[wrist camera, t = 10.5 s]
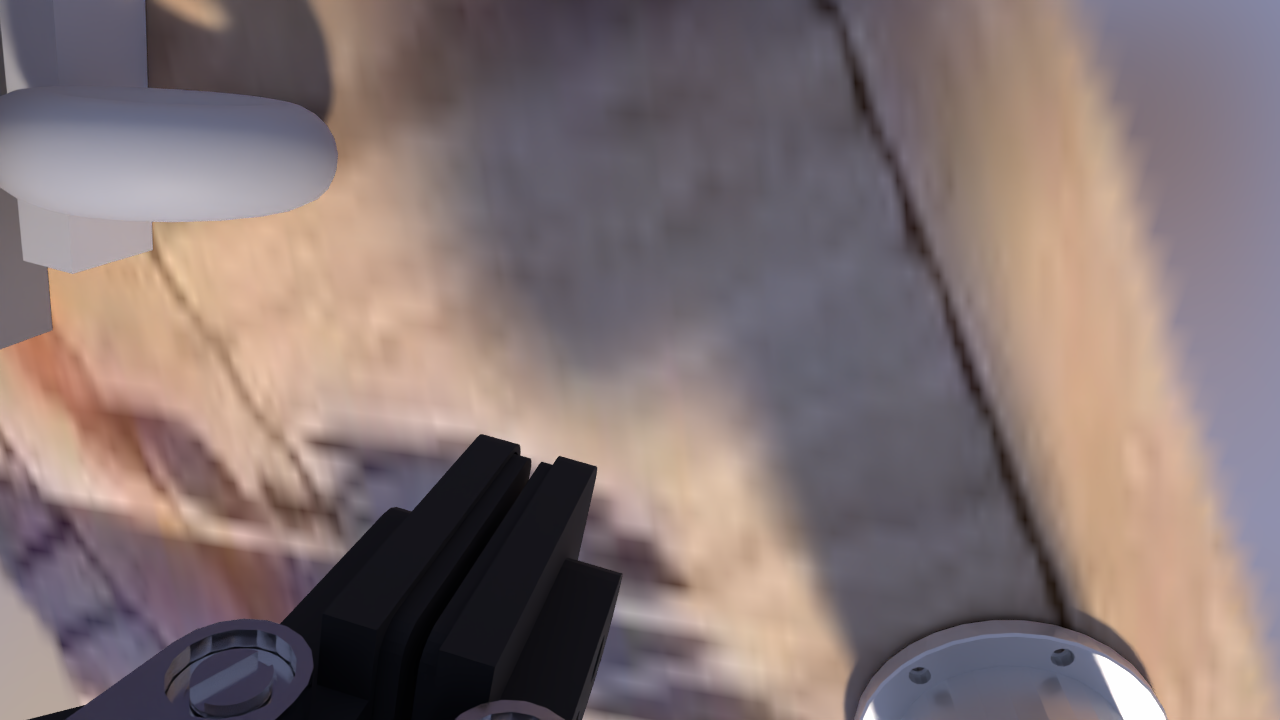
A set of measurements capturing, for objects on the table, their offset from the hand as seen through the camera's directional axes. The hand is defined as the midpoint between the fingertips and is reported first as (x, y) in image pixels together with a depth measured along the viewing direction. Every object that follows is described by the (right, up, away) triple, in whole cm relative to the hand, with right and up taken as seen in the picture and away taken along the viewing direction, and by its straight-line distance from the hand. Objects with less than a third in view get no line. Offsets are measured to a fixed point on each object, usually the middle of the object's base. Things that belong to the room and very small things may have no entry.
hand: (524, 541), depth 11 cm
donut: (-13, +11, +19) cm, 26 cm away
